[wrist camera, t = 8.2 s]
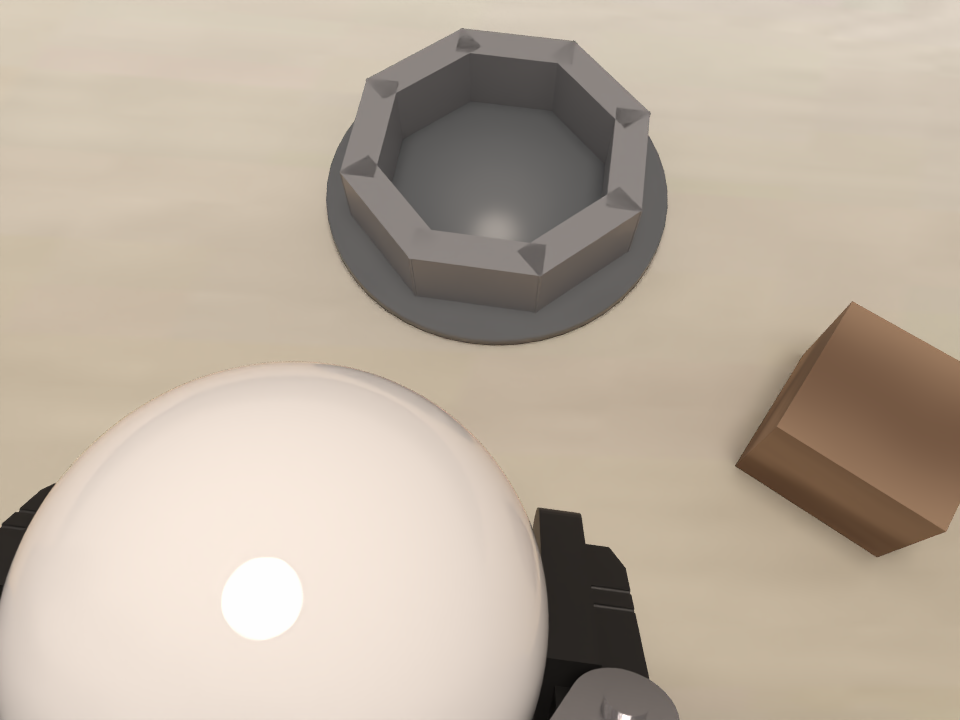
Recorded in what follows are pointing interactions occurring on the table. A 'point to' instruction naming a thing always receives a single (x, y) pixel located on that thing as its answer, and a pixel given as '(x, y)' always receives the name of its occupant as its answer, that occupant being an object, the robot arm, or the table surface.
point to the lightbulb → (278, 563)
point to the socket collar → (497, 189)
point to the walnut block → (866, 434)
